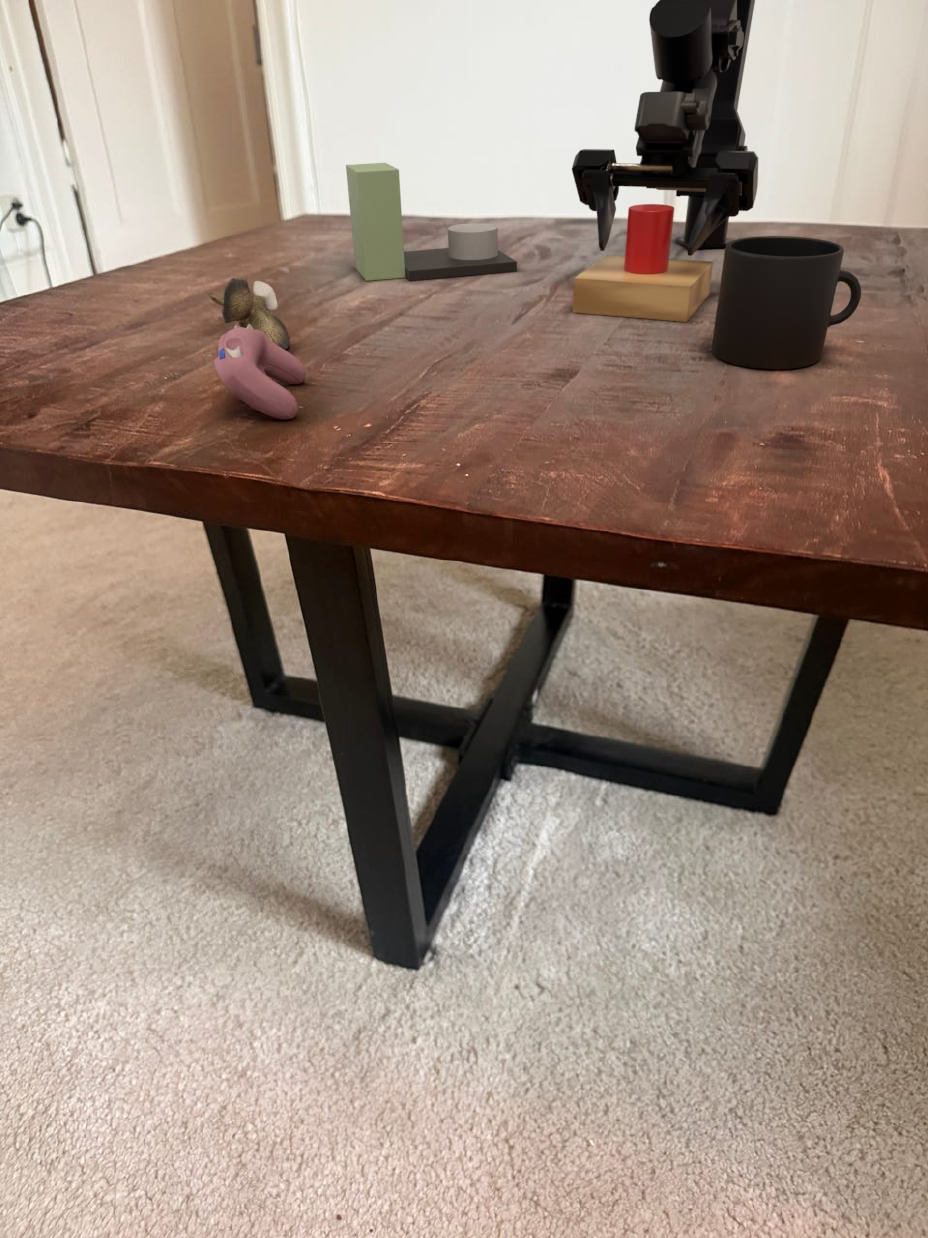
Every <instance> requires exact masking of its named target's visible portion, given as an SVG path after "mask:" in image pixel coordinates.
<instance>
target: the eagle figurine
mask: <svg viewBox="0 0 928 1238" xmlns="http://www.w3.org/2000/svg"><path fill="white" fill-rule="evenodd" d="M205 293H206V295H207V296H208V297H209V298H210V299H211V300H212V301H213V302H214V303H216V304H218V305H219V306H222V307H221V314H222V318H223V321H224V323H225V324H229V323H233V322H235V323H234V327H233V329H234V328H237V327H244V328H247V326H248V325H249V324H250V325H251V326H252V327H253V329H254V330H259V331H260V332H262V333H263V334H264V335H265V336H266V337H267V338H268V339H269V340H271V341H272V342H273V343H275V344H276V345H277V346H279V347H280V348H282V349H284V350H286V349H288V348H289V346H290V343H291V337H290V336H289V331H288V329H287V327H286V325H285V324H284V322H283V321H282V320H281V319H280V318H278V317H277V316H275V315H274V314H273V313H271V312H270V311H276V310H277V309H278V301H277V295H276V293H275V291H274V289H273V287H271V286H270V285H269V284H268V283H266V282H263V281H260V280H254V281H253V285H252V293H251V289H250V286H249V283H248V279H246V278H245V279H242V278H241V279H239V278H235V277H231V278H230V280H228V282H227V284H226V285H225V287H224V288H223V295H222V298H221V297H219V296H218V295H216V294H215V293H213V292H212V290H210V289H207V288H206V289H205ZM252 294H253V295H252Z"/></svg>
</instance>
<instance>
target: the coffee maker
mask: <svg viewBox="0 0 928 1238" xmlns="http://www.w3.org/2000/svg"><path fill="white" fill-rule="evenodd" d="M345 171H346V184H347V191H348V202H349V203H348V204H349V214H350V215H349V216H350V225H351V226H350V227H351V237H352V247H353V256H354V257H353V258H354V267H355V269H356V271H357V272H358V273H359V274H360V276H361V277H363V280H365V281H366V282H372V281H383V280H384V281H385V280H395V279H406V280H408V282H412V281H424V280H425V281H426V280H435V279H446V278H448V279H449V278H456V277H468V276H480V275H491V274H503V273H511V272H512V273H514V272H518V261H517V260H516V259H513V258H512V257H510V256H509V255H507V254H505V253H504V252H502V251H500V250H499V227H498V226H497V225H495V224H491V223H483V222H482V223H481V222H472V223H471V222H470V223H459V224H454V225H453V224H452V225H451V226H448V228H447V240H448V241H447V243H448V245H447V247H446V248H445V247H444V248H431V249H420V250H418V249H417V250H406V251H405V248H404V246H405V245H404V231H403V215H402V200H401V199H402V198H401V197H402V196H401V181H400V169H399V168H397V167H395V166H393V165H390V164H389V163H387V162H373V163H358V164H357V163H356V164H345Z"/></svg>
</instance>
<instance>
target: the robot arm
mask: <svg viewBox="0 0 928 1238" xmlns="http://www.w3.org/2000/svg"><path fill="white" fill-rule="evenodd" d="M755 4H756V0H658V1H657V2H656V3H655V4H654V6H653V7H651V9H650V12H649V19H648V20H649V30H650V37H651V38H650V39H651V47H652V54H653V63H654V65H653V66H654V72H655V77H656V79H657V80H659V81H660V80H661V81H662V82H661V86H660V89H659V91H644V92H642V93H640V95H639V101H638V106H637V112H636V118H635V122H634V123H635V124H634V129H633V130H634V132H635V133H636V134H637V136H638V137H637V142H636V145H635V151H636V156H637V157H641V158H640V162H639V163H631V162H630V163H628V162H627V163H626V162H624V163H622V162H617V157H616V152H615V149H609V148H608V149H607V148H606V149H604V148H603V149H602V148H601V149H600V148H599V149H598V148H583V149H580V150H579V151H578V152H577V153H576V155H575V156H574V158H573V159H574V160H573V164H572V166H571V172H572V176H573V180H574V184H575V187H576V191H577V196H578V199H579V202H580V203H582V204H583V205H585V206H588V209H589V210H591V211H592V212H596V221H597V236H598V237H597V238H598V247H599V251H600V252H604V251H606V247H607V245H608V244H609V239H610V235H611V231H612V228H613V224H614V220H615V215H616V212H617V206H616V201H618V200H617V199H618V196H619V192H620V187H630V188H631V187H634V188H635V187H636V188H637V187H638V188H646V189H655V190H658V191H675V197H678V198H679V197H687V207H686V215H685V222H684V223H685V224H684V232H683V233H684V234H683V236H675V240H674V241H675V242H677V243H679V244H680V245H682V246H684V247H685V248H687V249H686V250H687V251H686V253H687V256H688V257H692V256H693V255H695V253H696V252H697V250H698V249H709V248H710V249H711V248H725V247H726V245H727V243H729V242H731V241H732V240H730V239H728V238H727V234H728V227H729V220H730V217H731V218H734V217H737V216H738V215H739V214H740V212H748V211H750V210H752V209H753V208H754V204H755V201H756V196H757V193H758V184H759V156H758V155H757V154H756V152H755V151H753V150H752V151H751V150H749V149H748V145H745V143H746V131H745V129H744V126H743V123H742V120H741V118H740V115H739V114H740V113H739V112H738V108H739V102H740V95H741V89H742V83H743V77H744V71H745V66H746V59H747V52H748V46H749V41H750V36H751V35H750V34H751V29H752V23H753V22H752V21H753V17H754V10H755Z"/></svg>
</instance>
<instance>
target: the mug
mask: <svg viewBox="0 0 928 1238" xmlns="http://www.w3.org/2000/svg"><path fill="white" fill-rule="evenodd" d="M730 241H731V242H729V243H727V245H726V247H724V253H723V262H722V270H721V277H720V284H719V290H718V298H717V306H716V312H715V319H714V326H713V333H712V341H711V349H712V350H711V351H712V354H713V355H714V356H715V357H717V358H718V359H720V360H722V361H725V362H727V363H730V364H733V365H737V366H739V367H740V366H741V367H745V368H751V369H759V370H760V369H761V370H790V369H798V368H804V367H809V366H810V365H813V364H815V363H817V362H818V361H819V360H820V358H821V357H822V355H823V351H824V347H825V342H826V337H827V333H828V328H830V327H831V326H836V325H839V324H842V323H843V322H845V321H847V320H849V318H850V317H852V315H853V314H854V312H855V311H856V310H857V309H858V307H859V303H860V301H861V298H862V287H861V285H860V282H859V280H858V278H857V277H856V276H855V275H854V274H853V273H852V272H850V271H848V270H844V269H843V270H842V269H841V268H842V267H841V266H842V263H843V258H844V254H845V248H844V247H843V246H842V245H840V244H838V243H837V242H833V241H829V240H825V239H820V238H813V237H805V236H792V235H790V236H789V235H761V236H760V235H759V236H748V237H742V238H738V239H734V240H730ZM840 282H842V283H844V284H846V285H847V287H848V288H849V291H850V298H849V301H848V303H847V305H846V306H845V307H844V309H842V310H841V311H840V312H838V313H835V314H833V315H832V310H833V305H834V300H835V296H836V291H837V286H838V283H840Z"/></svg>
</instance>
